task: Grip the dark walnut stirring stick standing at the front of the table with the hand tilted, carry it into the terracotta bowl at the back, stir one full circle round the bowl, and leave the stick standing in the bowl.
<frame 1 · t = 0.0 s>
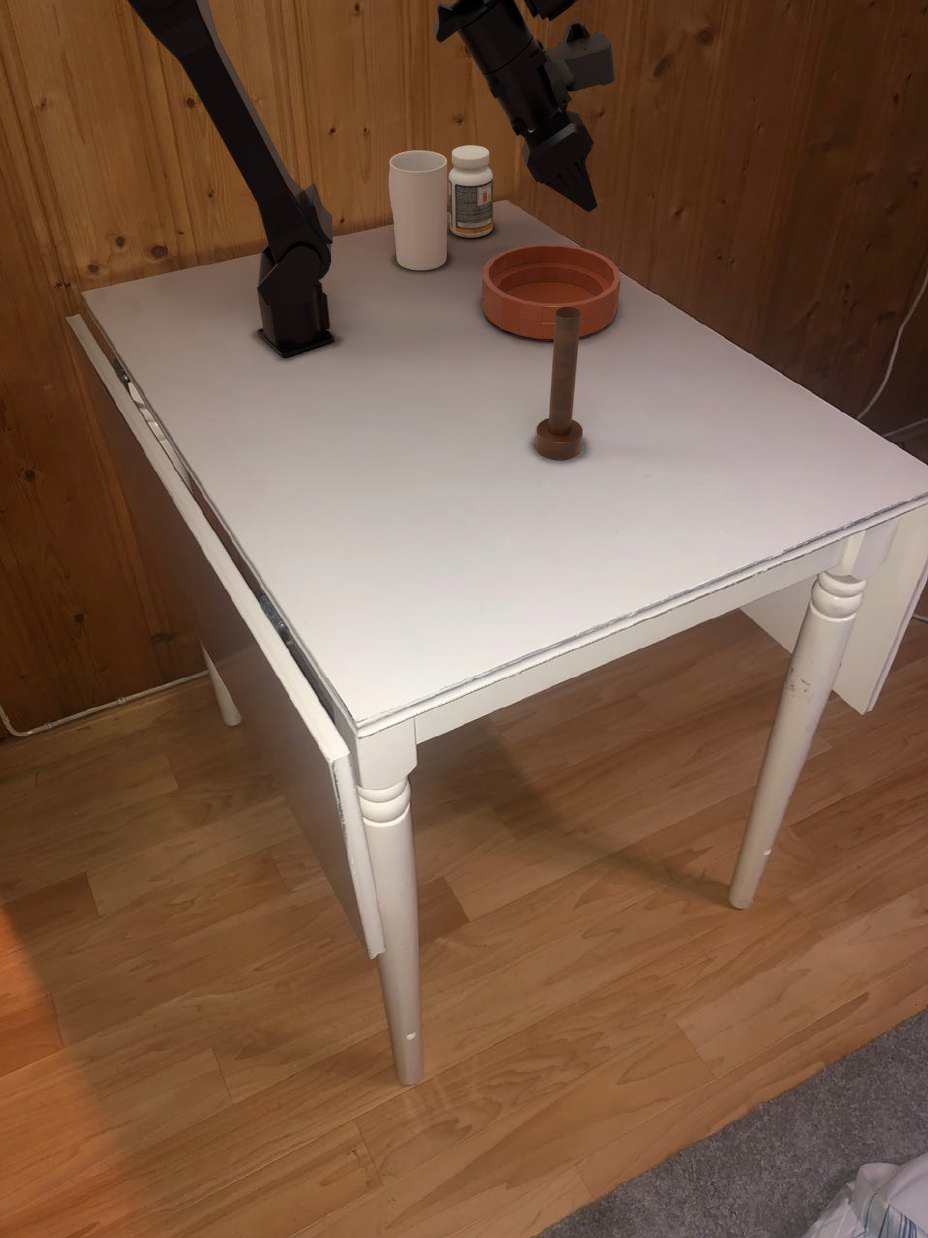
hand: (584, 190, 105), 15 cm above the table, tool tilted 35°, fingers open, 9 cm apart
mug: (414, 256, 128), on the table
stick: (558, 446, 98), on the table
bowl: (549, 310, 117), on the table
pill bottle: (470, 231, 133), on the table
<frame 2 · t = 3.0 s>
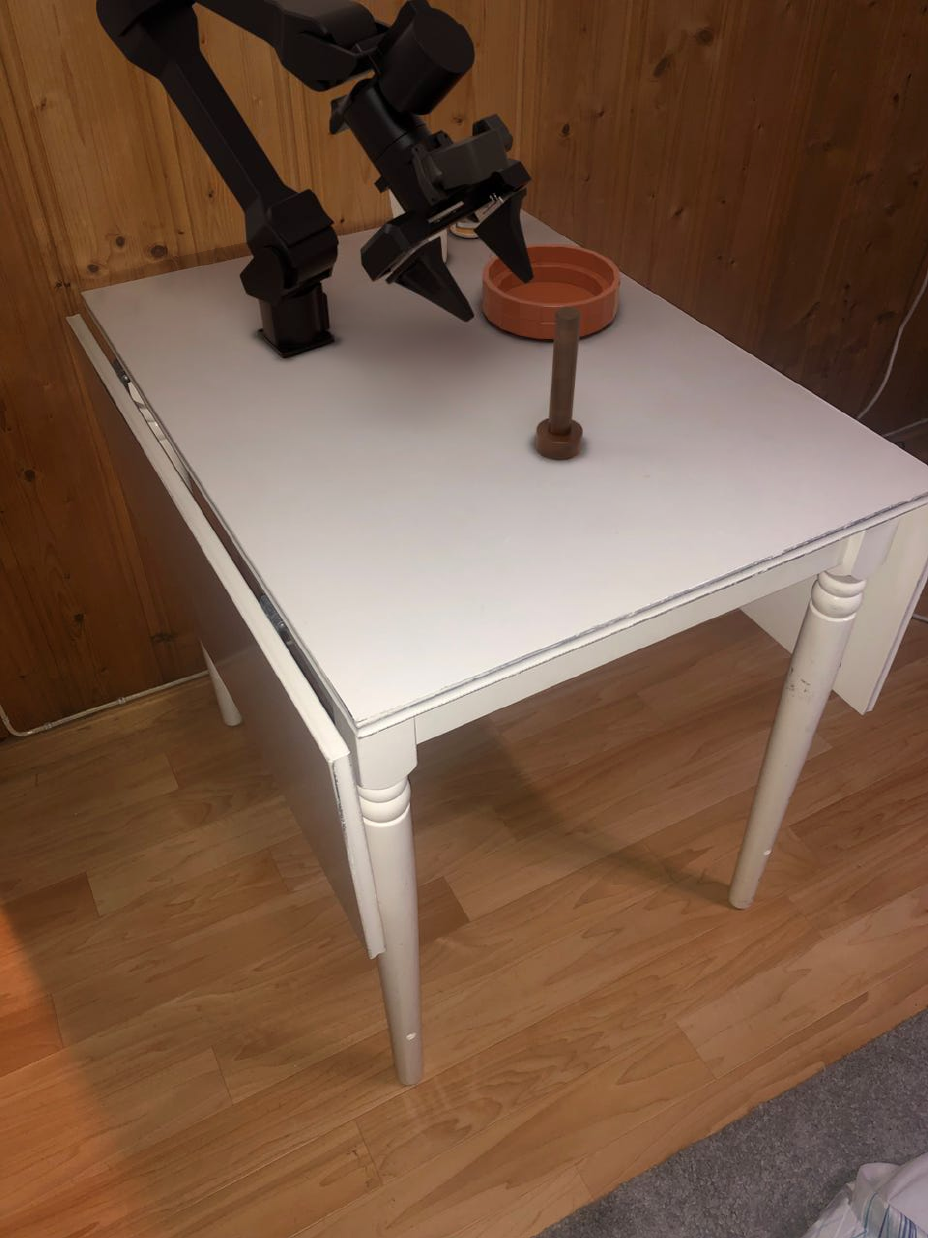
hand: (501, 299, 92), 13 cm above the table, tool tilted 45°, fingers open, 9 cm apart
nothing on the table moved.
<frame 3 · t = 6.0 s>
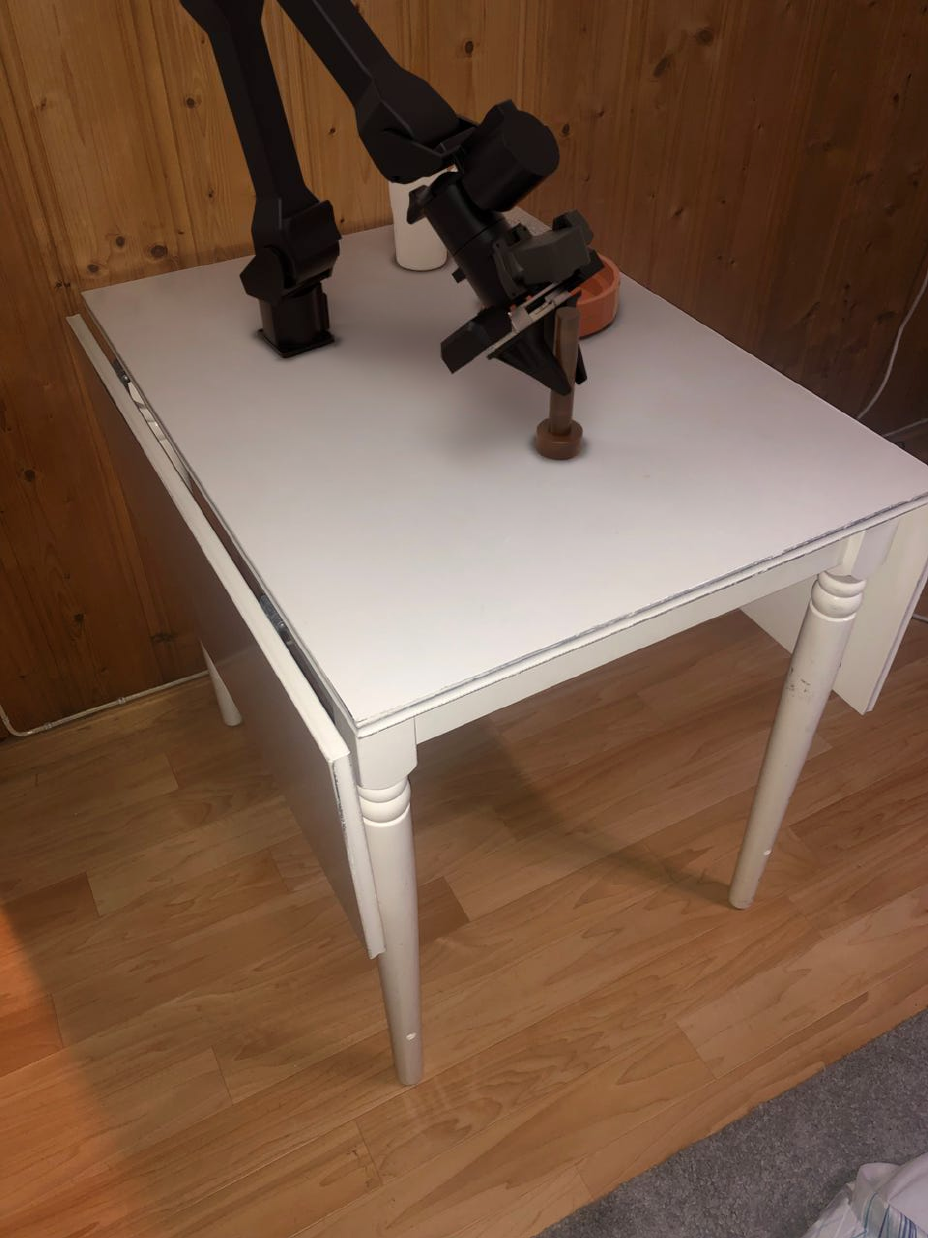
hand: (575, 388, 92), 7 cm above the table, tool tilted 45°, fingers closed on stick, 2 cm apart
stick: (558, 446, 98), on the table, touching gripper
everything else where it was.
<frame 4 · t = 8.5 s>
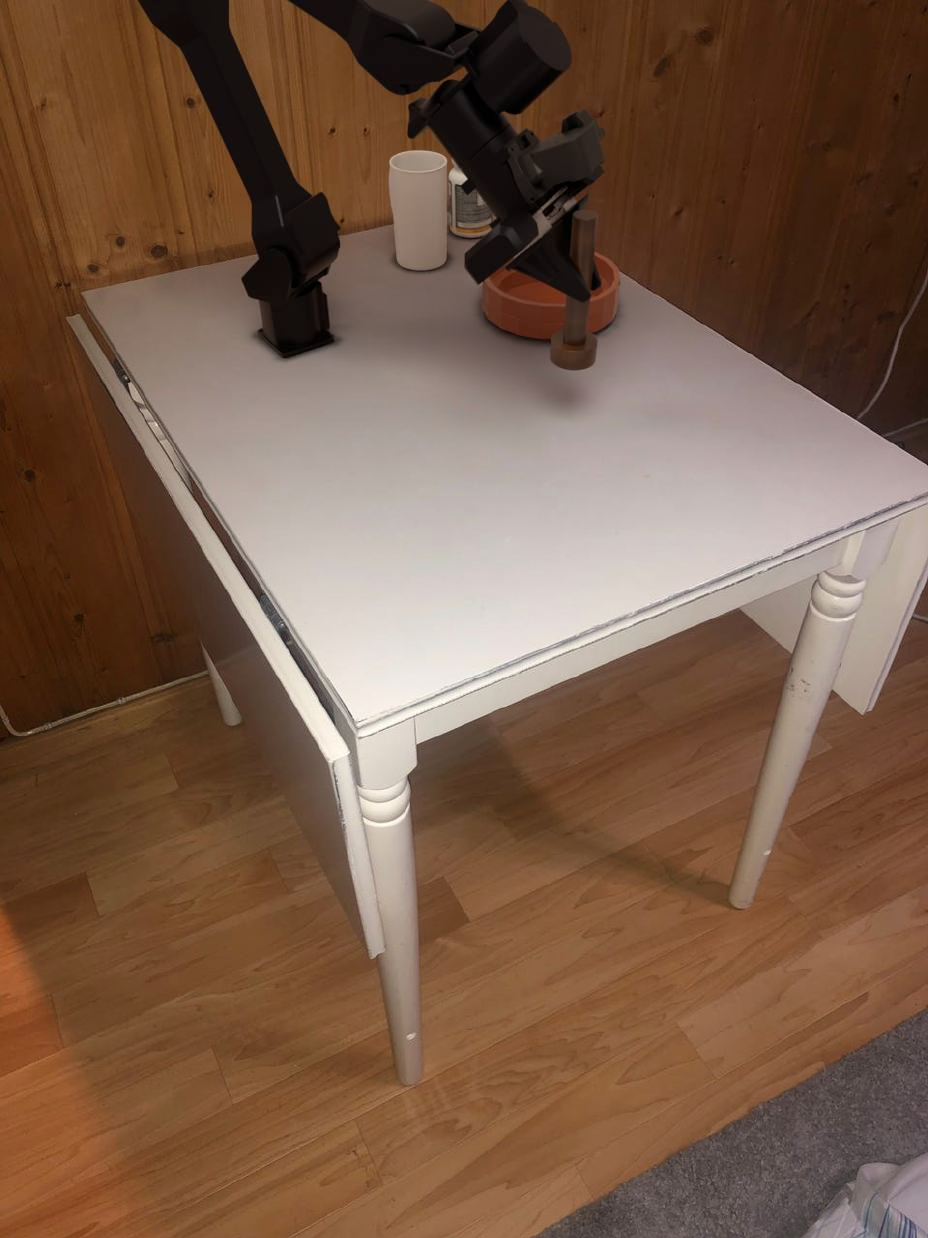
hand: (592, 293, 92), 13 cm above the table, tool tilted 45°, fingers closed on stick, 2 cm apart
stick: (572, 358, 98), point 6 cm above the table, touching gripper
everything else where it was.
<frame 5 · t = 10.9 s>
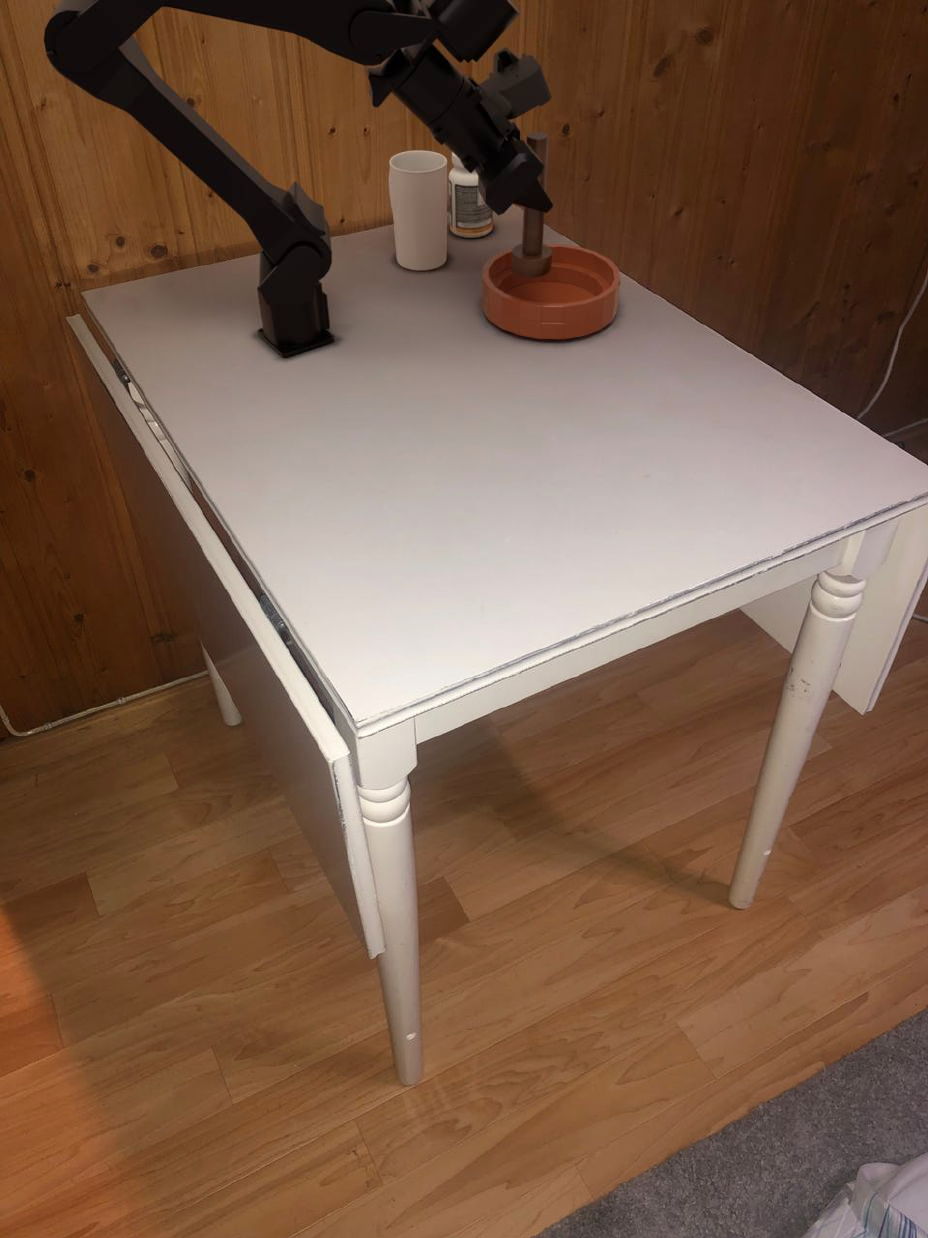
hand: (546, 204, 107), 13 cm above the table, tool tilted 45°, fingers closed on stick, 2 cm apart
stick: (531, 268, 112), point 6 cm above the table, touching gripper
everything else where it was.
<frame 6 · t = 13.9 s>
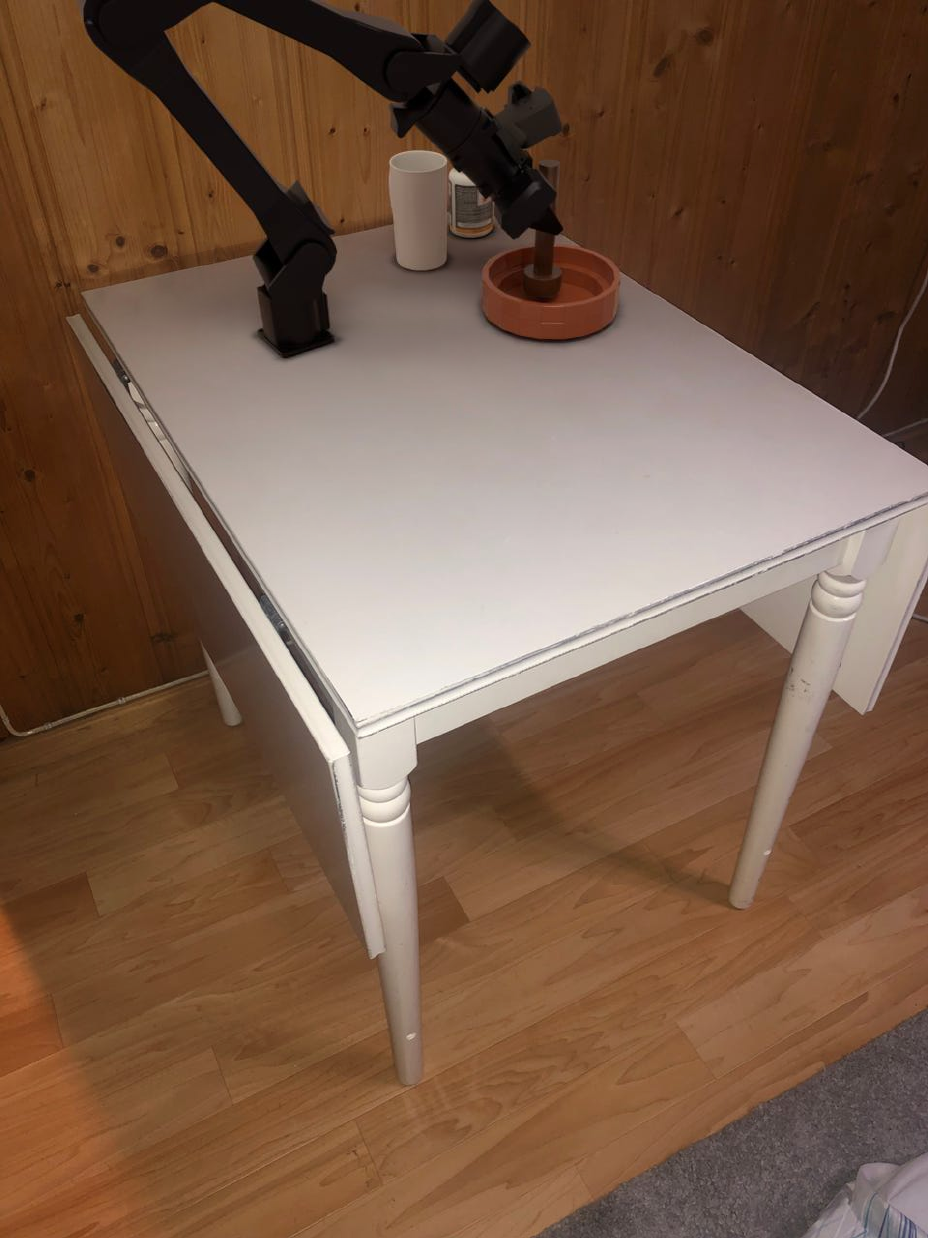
hand: (557, 227, 113), 9 cm above the table, tool tilted 45°, fingers closed on stick, 2 cm apart
stick: (541, 287, 117), point 2 cm above the table, touching gripper
everything else where it was.
when the fingers open (8 cm above the table, at t = 16.1 s): stick stays where it is, resting on bowl.
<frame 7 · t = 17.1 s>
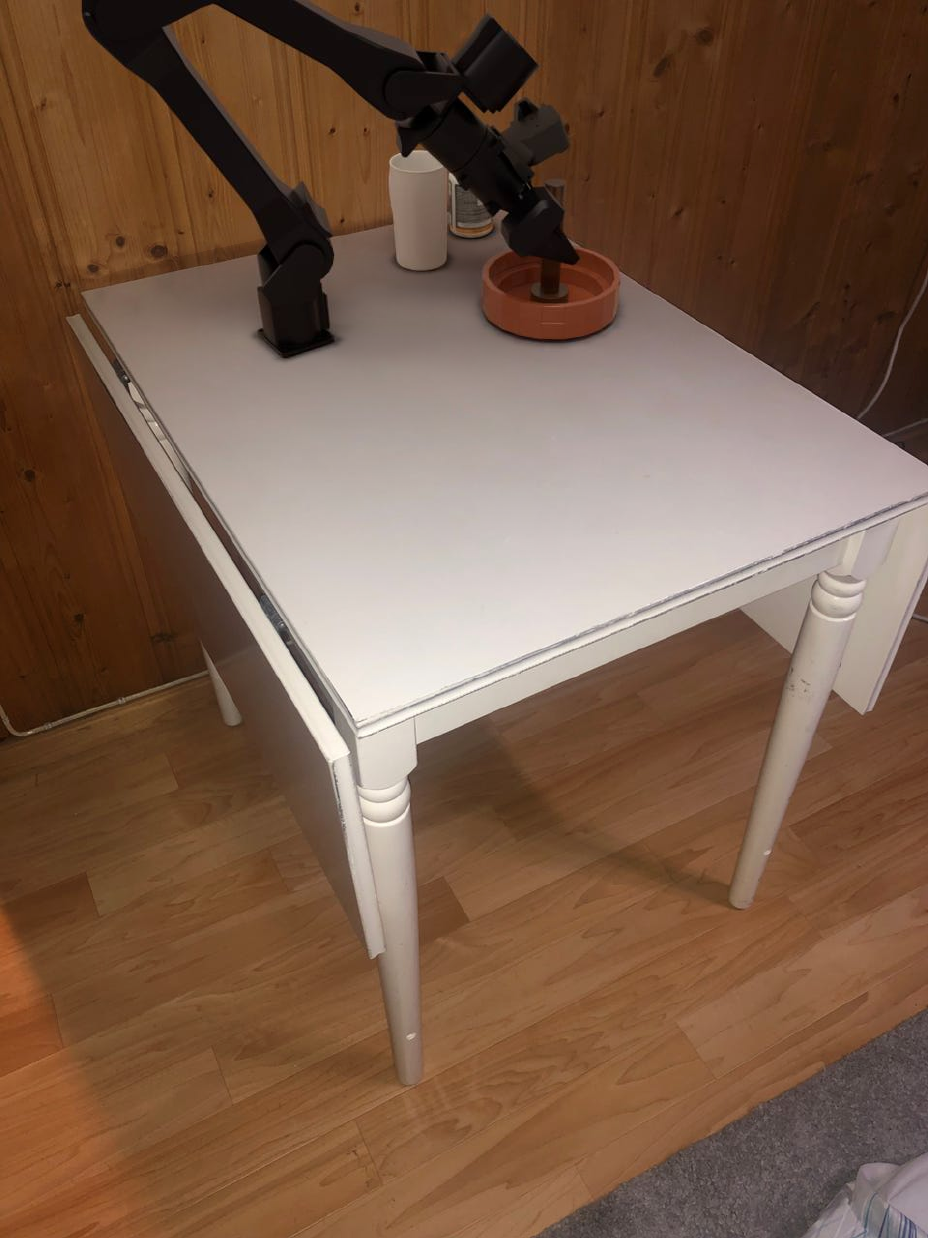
hand: (564, 243, 112), 8 cm above the table, tool tilted 45°, fingers open, 9 cm apart
stick: (548, 305, 117), point 1 cm above the table, touching bowl
everything else where it was.
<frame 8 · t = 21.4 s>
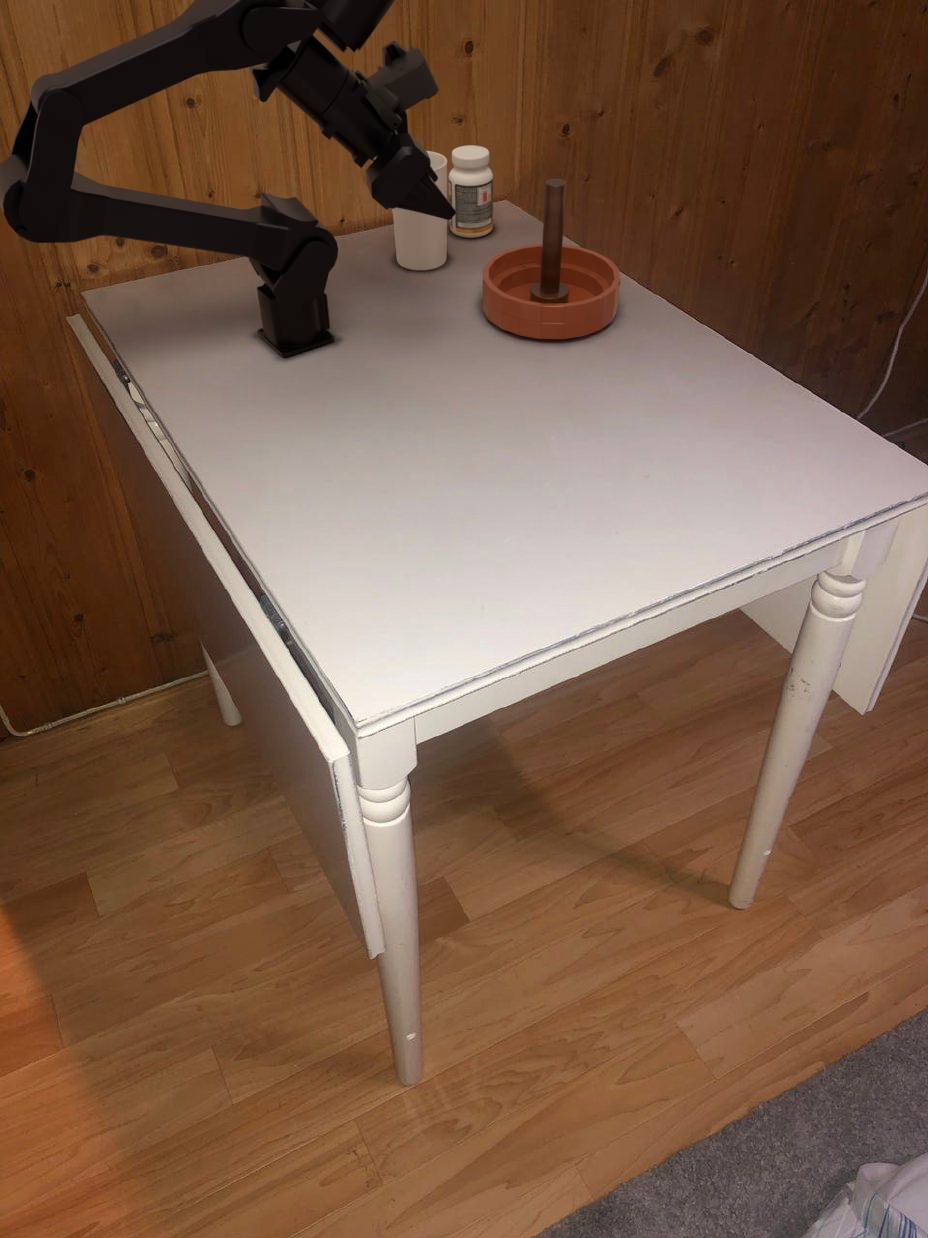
hand: (443, 198, 107), 14 cm above the table, tool tilted 45°, fingers open, 9 cm apart
nothing on the table moved.
at the end: stick inside the target area in the bowl (0.1 cm from its centre), point 0.6 cm above the bowl's base; stick tilted 0°; the gripper is holding nothing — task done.
